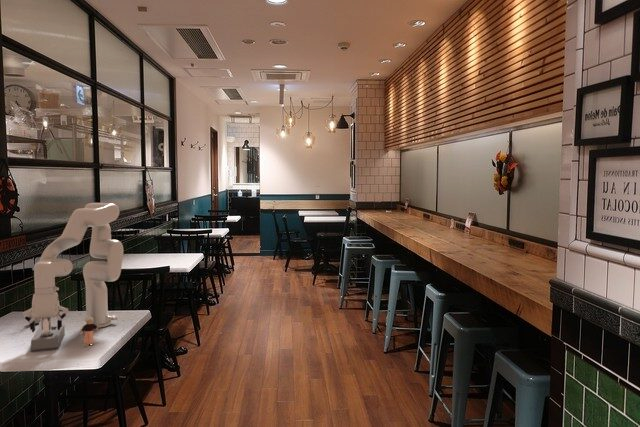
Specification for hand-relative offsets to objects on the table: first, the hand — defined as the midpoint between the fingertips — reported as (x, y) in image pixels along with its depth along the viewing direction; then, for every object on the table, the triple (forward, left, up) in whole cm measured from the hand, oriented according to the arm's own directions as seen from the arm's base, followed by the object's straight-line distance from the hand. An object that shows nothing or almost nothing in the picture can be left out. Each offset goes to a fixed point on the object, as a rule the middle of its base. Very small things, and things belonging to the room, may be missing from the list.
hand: (46, 330), depth 210 cm
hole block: (0, -5, -7) cm, 9 cm away
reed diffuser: (+12, -39, -7) cm, 41 cm away
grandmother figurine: (-17, +3, -7) cm, 19 cm away
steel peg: (0, 0, -6) cm, 6 cm away
